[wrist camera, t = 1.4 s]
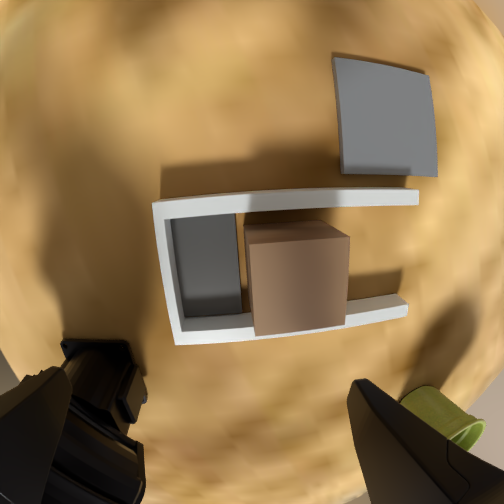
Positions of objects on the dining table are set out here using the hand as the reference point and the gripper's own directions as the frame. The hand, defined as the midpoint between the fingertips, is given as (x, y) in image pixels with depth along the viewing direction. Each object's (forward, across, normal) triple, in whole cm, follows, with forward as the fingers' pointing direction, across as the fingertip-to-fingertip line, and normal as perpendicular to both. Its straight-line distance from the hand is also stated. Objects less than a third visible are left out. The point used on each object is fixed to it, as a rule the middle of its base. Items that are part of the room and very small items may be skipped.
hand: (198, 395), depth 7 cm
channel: (+12, -5, 0) cm, 13 cm away
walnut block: (+12, -4, 0) cm, 13 cm away
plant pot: (+12, -20, +18) cm, 30 cm away
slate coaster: (+13, -11, -10) cm, 20 cm away
